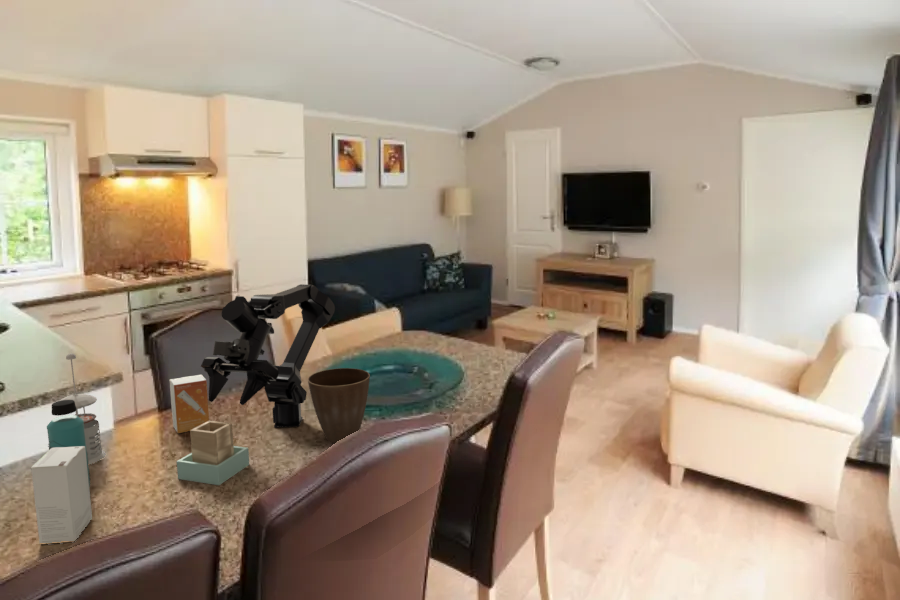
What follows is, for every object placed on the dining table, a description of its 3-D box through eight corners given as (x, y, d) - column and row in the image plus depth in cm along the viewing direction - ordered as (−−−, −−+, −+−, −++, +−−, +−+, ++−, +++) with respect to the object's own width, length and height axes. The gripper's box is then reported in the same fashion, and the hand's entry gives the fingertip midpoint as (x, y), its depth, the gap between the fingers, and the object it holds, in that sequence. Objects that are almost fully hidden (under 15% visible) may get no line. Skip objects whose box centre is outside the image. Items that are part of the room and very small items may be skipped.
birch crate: (212, 460, 137) (208, 420, 136) (234, 464, 136) (231, 423, 134) (193, 472, 132) (190, 430, 130) (216, 475, 130) (213, 433, 128)
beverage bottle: (65, 490, 126) (53, 396, 123) (98, 488, 126) (88, 395, 123) (47, 505, 120) (34, 407, 116) (82, 503, 120) (71, 406, 117)
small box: (177, 434, 155) (173, 384, 153) (172, 426, 161) (168, 378, 159) (210, 427, 160) (207, 379, 158) (205, 420, 165) (201, 373, 163)
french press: (55, 471, 135) (42, 361, 131) (60, 452, 145) (48, 349, 141) (106, 462, 139) (94, 355, 135) (107, 444, 149) (97, 344, 145)
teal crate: (210, 459, 140) (209, 442, 140) (249, 464, 137) (248, 447, 136) (178, 478, 130) (176, 461, 130) (219, 485, 127) (217, 467, 127)
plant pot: (344, 455, 141) (341, 389, 139) (297, 442, 149) (294, 379, 147) (383, 434, 154) (382, 373, 151) (339, 423, 162) (336, 365, 159)
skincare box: (59, 522, 113) (50, 446, 111) (95, 519, 114) (86, 443, 112) (38, 547, 105) (27, 466, 103) (76, 543, 106) (66, 463, 104)
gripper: (199, 324, 143) (170, 385, 136) (262, 326, 136) (235, 391, 128) (229, 346, 152) (203, 404, 145) (289, 349, 144) (266, 411, 137)
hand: (225, 402), depth 138 cm, fingers open, 9 cm apart
